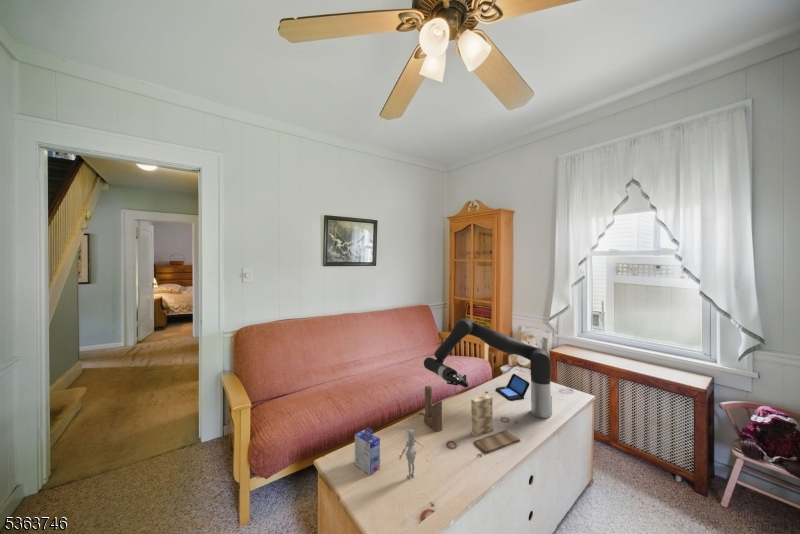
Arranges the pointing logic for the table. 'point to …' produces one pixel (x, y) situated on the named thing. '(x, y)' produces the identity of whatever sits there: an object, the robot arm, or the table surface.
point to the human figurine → (410, 451)
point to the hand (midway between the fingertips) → (467, 385)
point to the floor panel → (496, 441)
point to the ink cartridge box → (367, 451)
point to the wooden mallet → (432, 411)
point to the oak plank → (482, 415)
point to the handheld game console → (514, 388)
